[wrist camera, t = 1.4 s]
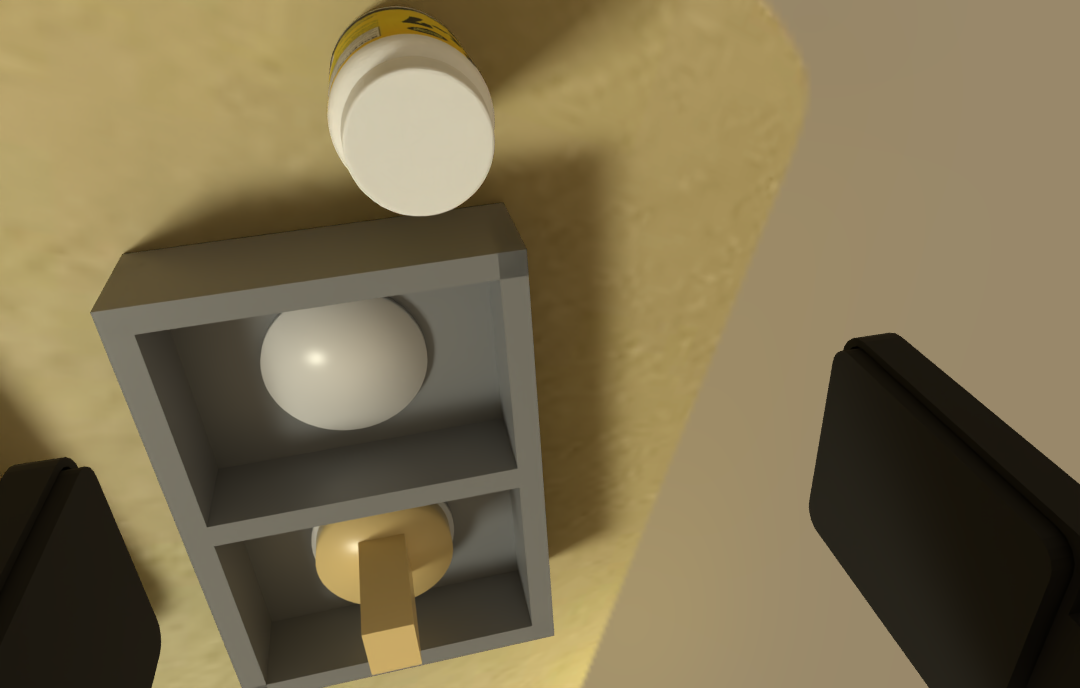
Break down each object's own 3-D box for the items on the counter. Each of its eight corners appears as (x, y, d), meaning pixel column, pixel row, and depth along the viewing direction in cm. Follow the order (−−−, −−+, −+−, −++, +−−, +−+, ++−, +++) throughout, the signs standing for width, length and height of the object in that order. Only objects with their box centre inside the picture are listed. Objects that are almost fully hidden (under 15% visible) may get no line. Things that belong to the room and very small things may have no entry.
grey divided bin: (121, 254, 29) (61, 364, 22) (503, 202, 31) (547, 289, 25) (256, 623, 39) (241, 770, 33) (534, 565, 41) (570, 692, 35)
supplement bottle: (494, 76, 28) (547, 145, 21) (404, 170, 29) (426, 265, 22) (393, -30, 26) (415, 8, 19) (299, 76, 27) (287, 149, 20)
